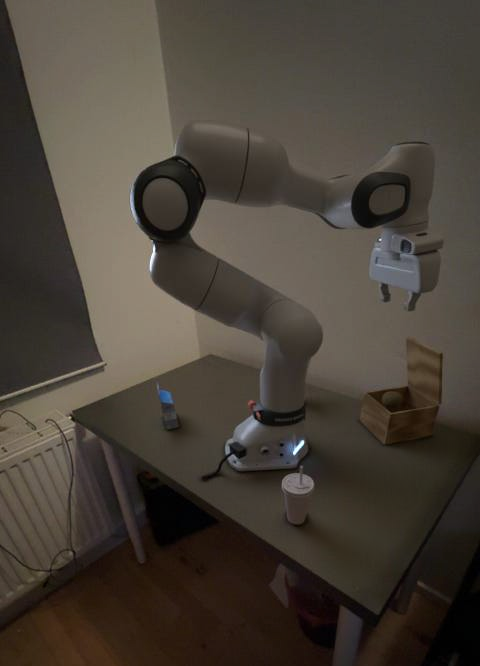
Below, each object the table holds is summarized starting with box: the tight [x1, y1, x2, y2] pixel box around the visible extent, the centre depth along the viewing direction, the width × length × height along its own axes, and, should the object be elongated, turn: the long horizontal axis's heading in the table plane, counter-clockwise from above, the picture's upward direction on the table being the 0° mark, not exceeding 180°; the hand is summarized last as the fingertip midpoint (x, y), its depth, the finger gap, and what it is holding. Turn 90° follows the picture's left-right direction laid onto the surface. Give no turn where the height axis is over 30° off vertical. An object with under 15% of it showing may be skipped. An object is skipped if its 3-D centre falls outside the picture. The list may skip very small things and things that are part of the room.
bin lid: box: [405, 336, 444, 406], centre depth 92 cm, size 15×13×1 cm
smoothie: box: [281, 465, 315, 525], centre depth 70 cm, size 6×6×14 cm
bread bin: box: [359, 385, 441, 446], centre depth 98 cm, size 14×13×10 cm
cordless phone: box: [156, 382, 179, 431], centre depth 107 cm, size 9×4×12 cm, turn 16°
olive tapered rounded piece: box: [382, 391, 403, 413], centre depth 97 cm, size 6×6×11 cm
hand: (396, 305), depth 81 cm, fingers open, 8 cm apart
